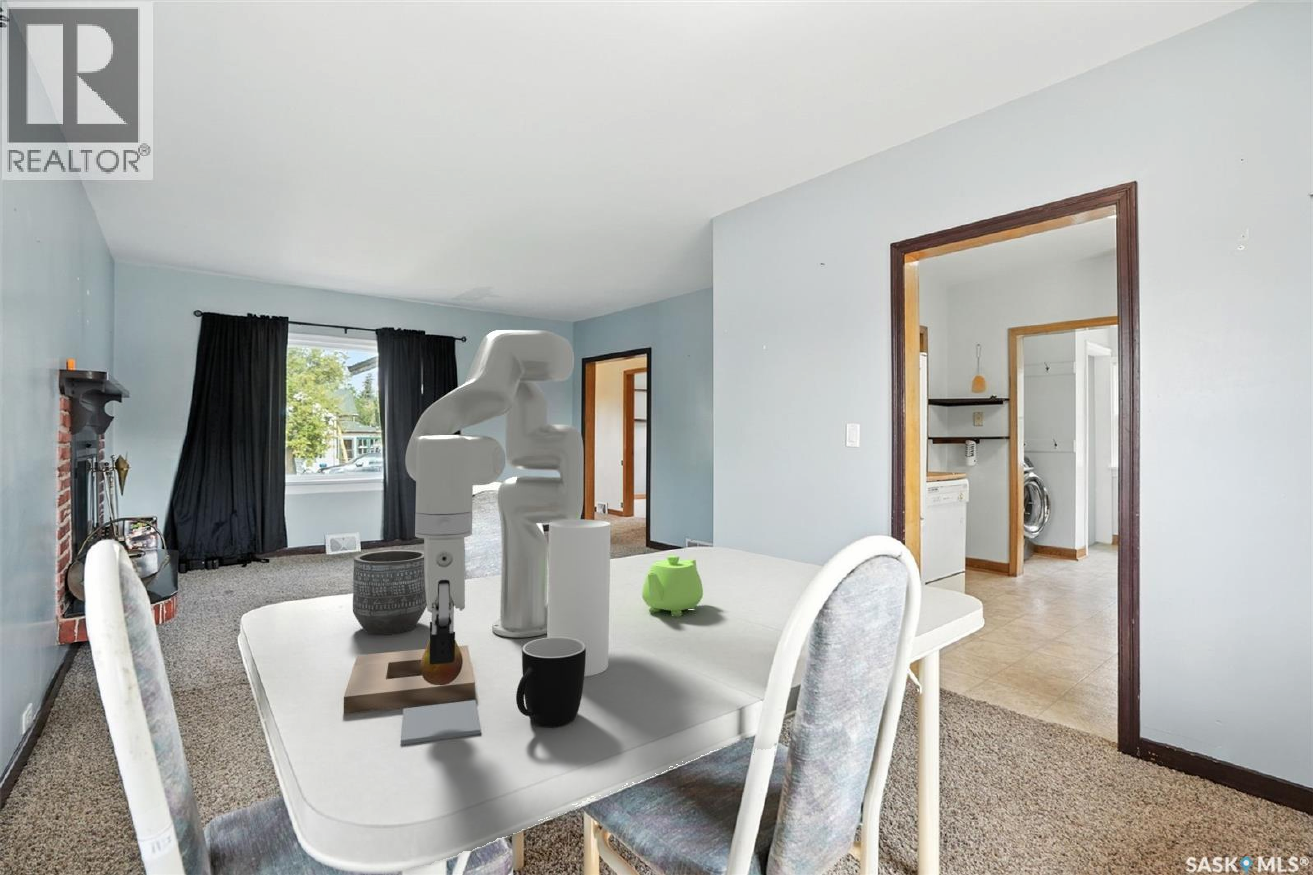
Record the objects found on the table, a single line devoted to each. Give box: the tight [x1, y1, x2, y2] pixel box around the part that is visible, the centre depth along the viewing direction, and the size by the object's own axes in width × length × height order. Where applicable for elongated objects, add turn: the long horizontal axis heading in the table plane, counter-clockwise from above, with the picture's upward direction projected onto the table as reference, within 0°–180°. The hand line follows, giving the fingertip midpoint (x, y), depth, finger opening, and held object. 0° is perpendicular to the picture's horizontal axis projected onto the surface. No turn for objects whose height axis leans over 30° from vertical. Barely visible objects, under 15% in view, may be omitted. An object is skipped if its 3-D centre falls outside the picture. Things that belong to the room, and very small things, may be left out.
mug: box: [515, 637, 586, 728], centre depth 89 cm, size 12×9×10 cm
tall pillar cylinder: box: [546, 518, 612, 678], centre depth 111 cm, size 11×11×25 cm
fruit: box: [420, 605, 463, 685], centre depth 88 cm, size 6×6×12 cm
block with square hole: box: [343, 644, 476, 715], centre depth 102 cm, size 18×18×2 cm
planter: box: [352, 549, 427, 636], centre depth 131 cm, size 14×14×15 cm
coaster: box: [400, 699, 482, 746], centre depth 88 cm, size 10×10×1 cm
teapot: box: [641, 555, 704, 617], centre depth 148 cm, size 20×13×13 cm
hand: (441, 654), depth 88 cm, fingers closed on fruit, 5 cm apart
